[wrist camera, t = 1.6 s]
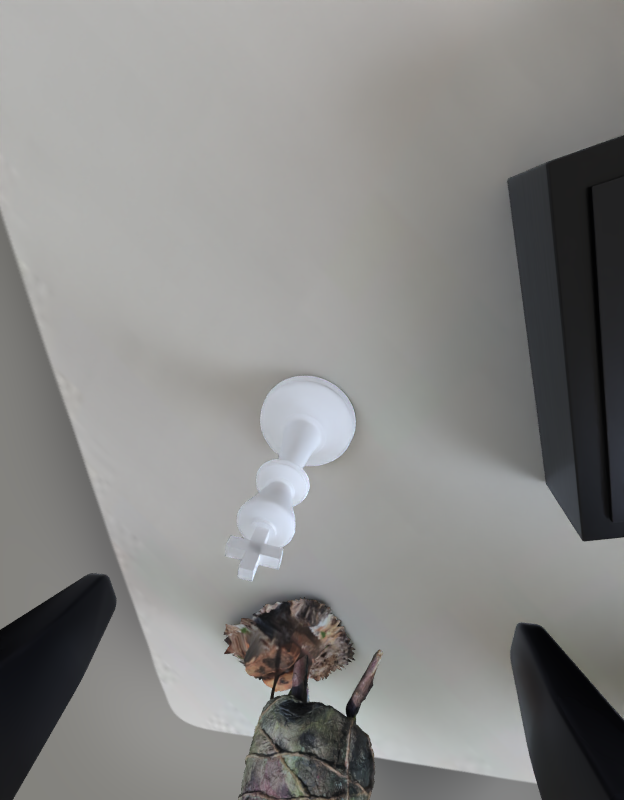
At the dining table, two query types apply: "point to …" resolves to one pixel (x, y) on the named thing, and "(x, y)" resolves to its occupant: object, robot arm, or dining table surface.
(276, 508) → the chess piece
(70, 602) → the robot arm
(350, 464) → the dining table surface
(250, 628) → the grey mottled stone figure
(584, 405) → the stand
